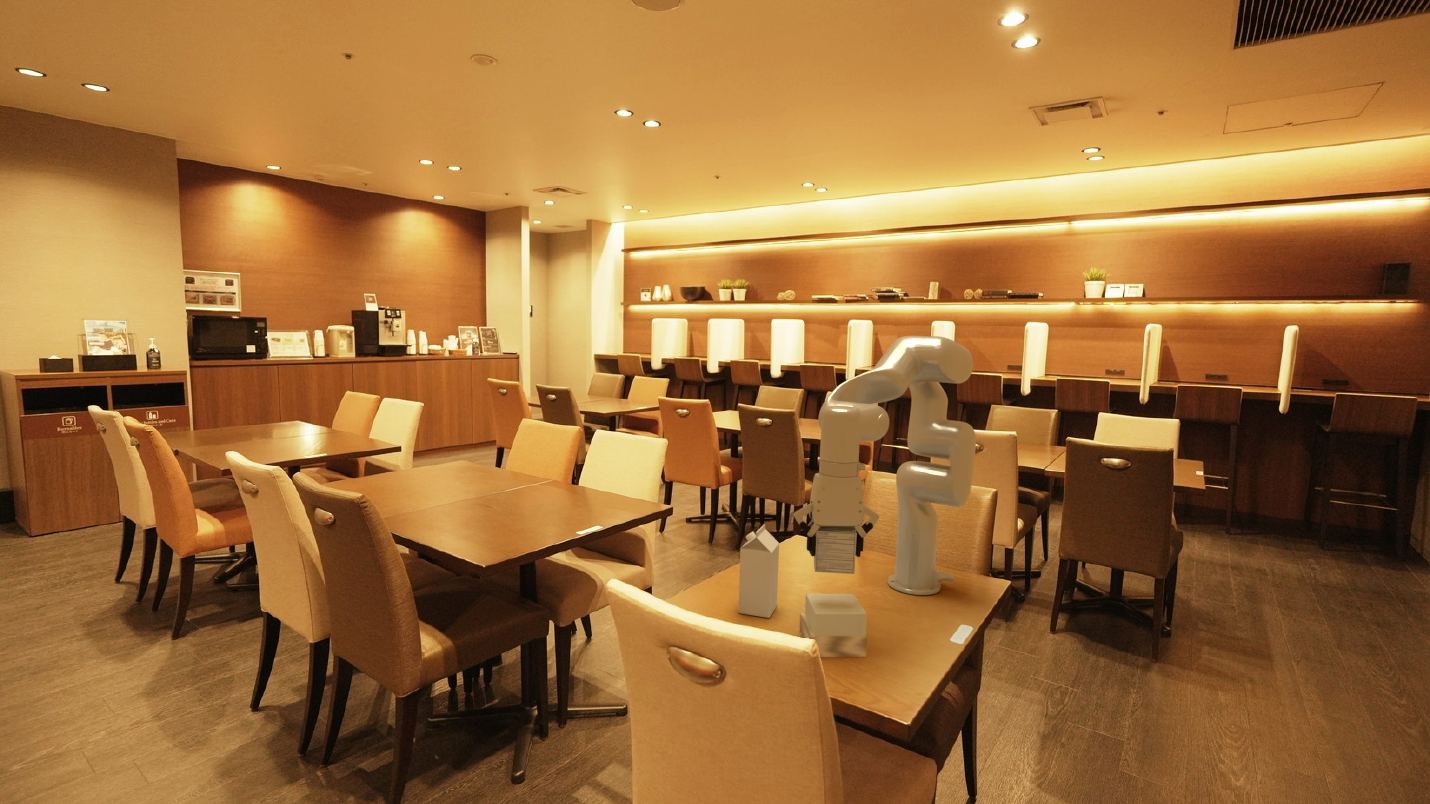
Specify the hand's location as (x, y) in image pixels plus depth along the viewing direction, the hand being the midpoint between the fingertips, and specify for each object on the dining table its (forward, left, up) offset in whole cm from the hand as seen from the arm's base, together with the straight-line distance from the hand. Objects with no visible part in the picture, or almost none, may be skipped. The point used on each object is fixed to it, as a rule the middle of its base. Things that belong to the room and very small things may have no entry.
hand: (834, 554), depth 133 cm
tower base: (0, 0, -19) cm, 19 cm away
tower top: (-1, 0, -15) cm, 15 cm away
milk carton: (+13, -16, -19) cm, 28 cm away
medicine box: (0, 0, -3) cm, 3 cm away
